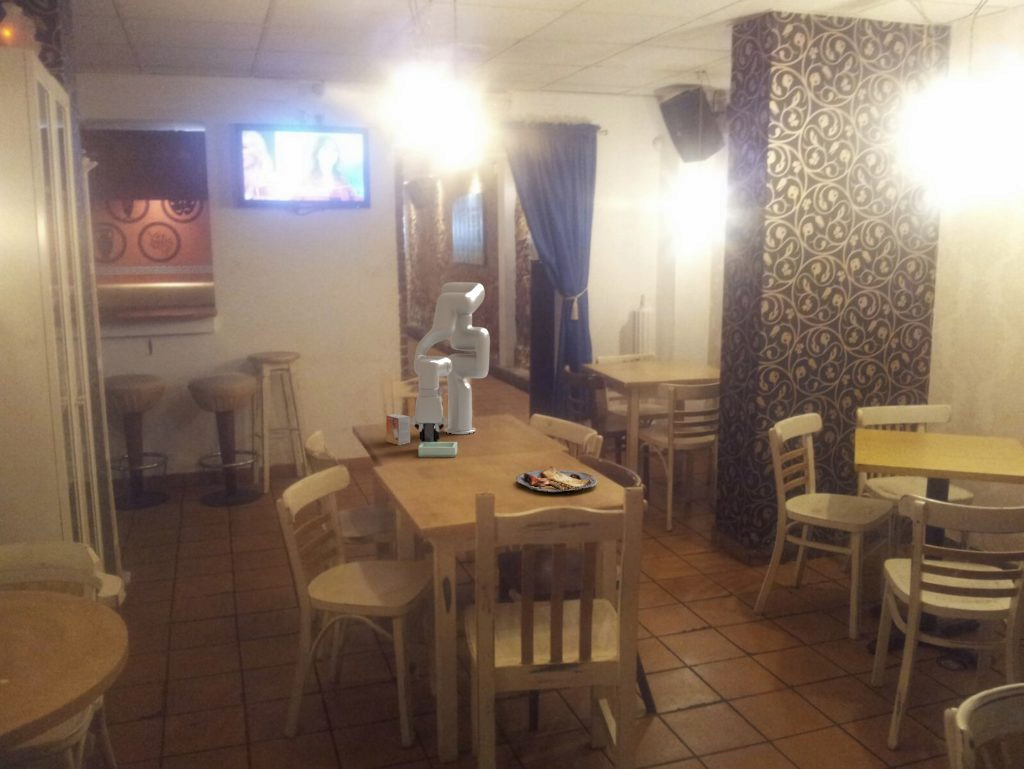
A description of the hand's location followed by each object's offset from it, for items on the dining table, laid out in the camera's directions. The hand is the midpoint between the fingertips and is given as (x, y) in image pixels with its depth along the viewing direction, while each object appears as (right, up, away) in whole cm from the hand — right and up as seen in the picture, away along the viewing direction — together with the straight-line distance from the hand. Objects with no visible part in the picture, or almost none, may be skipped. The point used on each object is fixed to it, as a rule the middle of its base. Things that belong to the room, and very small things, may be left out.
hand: (429, 441), depth 326 cm
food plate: (+44, -11, -49) cm, 67 cm away
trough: (+4, -4, -8) cm, 10 cm away
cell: (0, -3, 0) cm, 3 cm away
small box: (-13, -2, +11) cm, 17 cm away
